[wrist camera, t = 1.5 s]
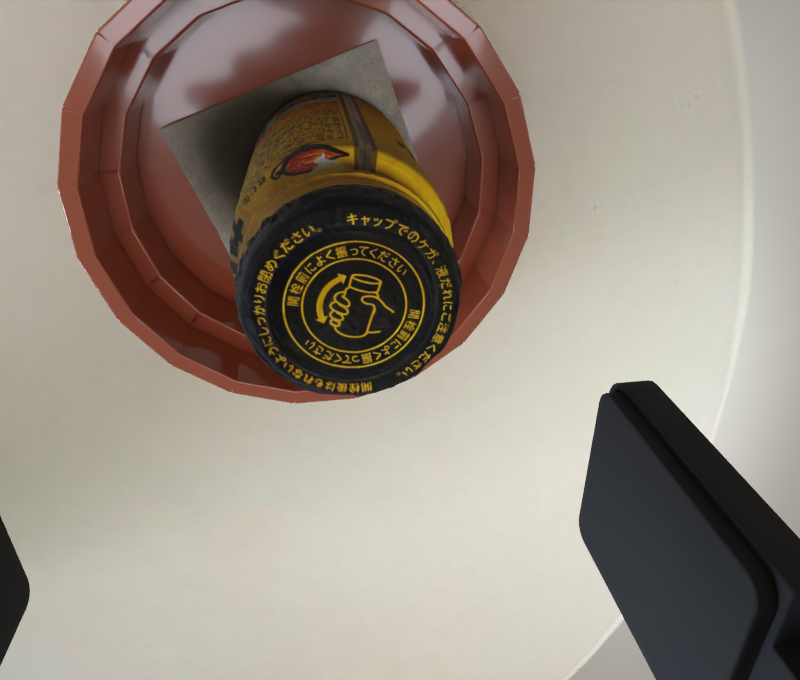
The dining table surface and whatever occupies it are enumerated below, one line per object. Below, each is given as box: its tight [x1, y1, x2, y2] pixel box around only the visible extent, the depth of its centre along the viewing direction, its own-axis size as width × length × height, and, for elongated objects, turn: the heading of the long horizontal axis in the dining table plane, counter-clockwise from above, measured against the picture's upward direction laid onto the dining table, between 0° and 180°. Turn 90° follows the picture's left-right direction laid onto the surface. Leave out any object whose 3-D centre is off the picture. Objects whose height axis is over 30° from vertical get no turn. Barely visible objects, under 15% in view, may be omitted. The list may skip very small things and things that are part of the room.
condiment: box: [159, 40, 462, 396], centre depth 19 cm, size 7×8×12 cm
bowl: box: [57, 0, 535, 403], centre depth 23 cm, size 15×15×5 cm
